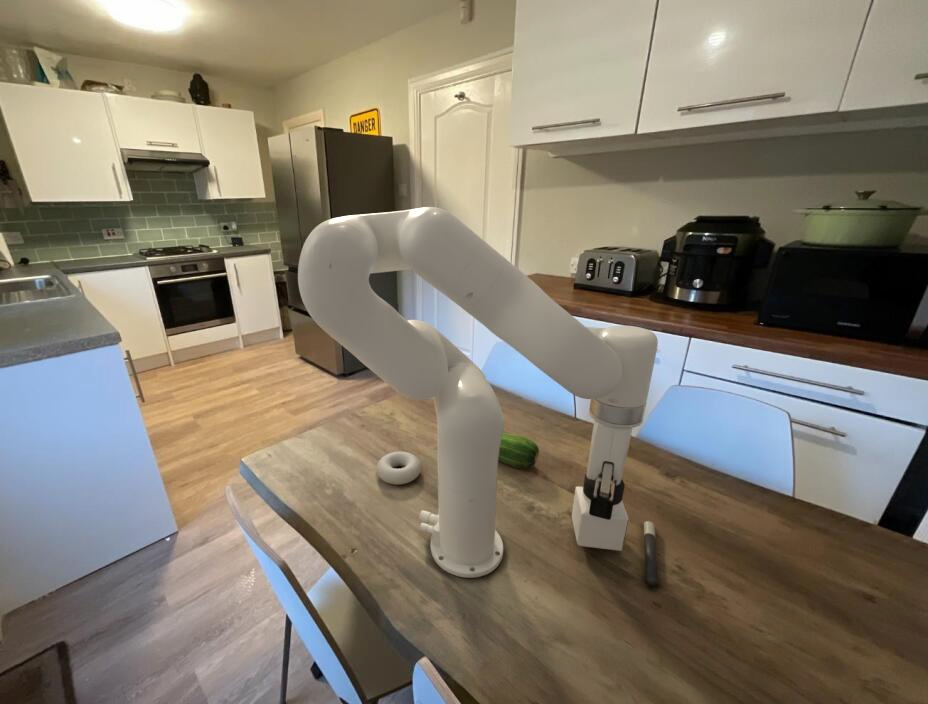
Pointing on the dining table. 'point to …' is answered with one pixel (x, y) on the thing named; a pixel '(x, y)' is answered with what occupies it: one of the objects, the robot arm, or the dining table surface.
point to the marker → (650, 554)
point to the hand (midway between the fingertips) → (601, 500)
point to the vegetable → (518, 451)
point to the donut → (398, 475)
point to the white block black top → (599, 519)
